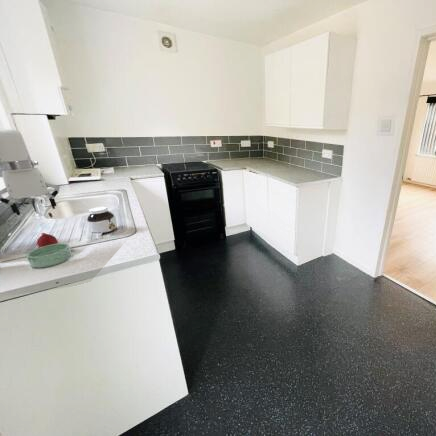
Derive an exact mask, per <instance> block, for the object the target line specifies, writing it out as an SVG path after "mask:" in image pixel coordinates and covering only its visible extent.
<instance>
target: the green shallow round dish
mask: <svg viewBox="0 0 436 436" xmlns="http://www.w3.org/2000/svg"><path fill="white" fill-rule="evenodd" d="M71 257H72V250H71V248H70V245H69V244H68V243H64V242H62V243H61V242H60V243H59V242H58V244H52V245H47V246H43V247H40V248H39V247H37V248H35V249H33V250H31V251H29V252H27V254H26V258H27V260H28V262H29V265H30V266H31V267H32V268H40V269H41V268H49V267H53V266H56V265H59V264H61V263H64V262H66V261H67V260H69V259H70V258H71Z"/></svg>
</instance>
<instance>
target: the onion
mask: <svg viewBox="0 0 436 436" xmlns="http://www.w3.org/2000/svg"><path fill="white" fill-rule="evenodd" d="M52 244H59V241H58V239H57V238H56V236H54V235H52V234H49V233H45V232H41V235H40V236H39V237H38V238H37V241H36V246H37V248H40V247H43V246H47V245H52Z"/></svg>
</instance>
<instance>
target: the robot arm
mask: <svg viewBox="0 0 436 436" xmlns="http://www.w3.org/2000/svg"><path fill="white" fill-rule="evenodd" d="M0 164H1V166H2V169H3V170H2V171H1V175H2V179H3V183H4V185H5V187H4V188H2V189H0V202H1V203H4V204H7V205H8V206H10V208H11V211H12V213H13V214H16V215H17V216H20V215H21V212H20V209H19V207H18V204H17V203H16V201H17V200H19V199H27V198H33V197H41V196H46V197H48V200H49V202H50V206H51V208H52V209H53V210H55V209H56V207H57V206H58V205H57V202H56V201H55V198H56V196H58V194H59V192H60V187H61V186H60V185H58V184H54V183H48V182H46V181H45V179H44V177H43V175H42V173H41V171H40V170H39V168H38V167H35V166H39V162H38V160H35V161H34V160H32V158H31V155H30V153H29V150H28V148H27V145H26V142H25V140H24V138H23V135H22V133H21V132H20V131H19V130H17V129H13V128H12V129H10V128H7V129H6V128H5V129H3V128H1V129H0ZM48 188H52V189H53V191H52V193H50V192H49V189H48ZM6 193H7V194H8V197H10V199H8V198H6V197H3V195H4V194H6Z"/></svg>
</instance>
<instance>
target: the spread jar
mask: <svg viewBox="0 0 436 436" xmlns="http://www.w3.org/2000/svg"><path fill="white" fill-rule="evenodd" d="M88 212H89V215H88V216H87V218H86V223H87V226H88V229H89V231H90V232H91V233H92V234H93V233H94V234H100V236H103V235H107V234H111V233H114V231H115V230H116V229H117V227H118V226H117V220H116V217H115V214H114V213H112V212H111V211H109V210H108V207H107V206H97V207H92V208H90V209H88Z"/></svg>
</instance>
